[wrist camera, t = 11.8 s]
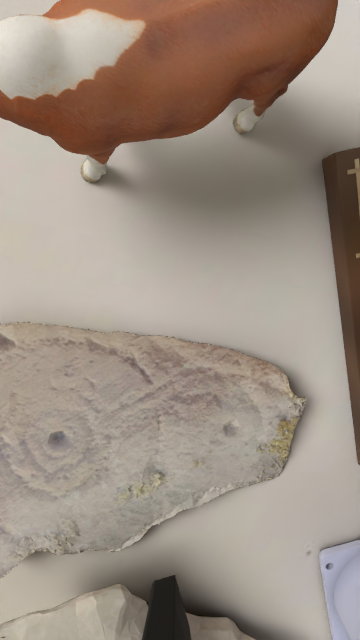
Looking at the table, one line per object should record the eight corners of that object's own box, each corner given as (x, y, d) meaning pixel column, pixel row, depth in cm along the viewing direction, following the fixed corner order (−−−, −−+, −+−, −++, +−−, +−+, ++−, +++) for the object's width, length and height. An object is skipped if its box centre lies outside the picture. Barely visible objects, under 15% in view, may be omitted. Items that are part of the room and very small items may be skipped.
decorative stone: (-45, 561, 19) (-59, 584, 18) (-88, 324, 16) (-108, 330, 15) (292, 528, 21) (301, 546, 19) (301, 308, 18) (313, 312, 17)
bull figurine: (-19, 105, 15) (-221, -70, 7) (267, 42, 15) (397, -192, 7) (14, 205, 16) (-128, 156, 8) (282, 143, 16) (412, 35, 8)
